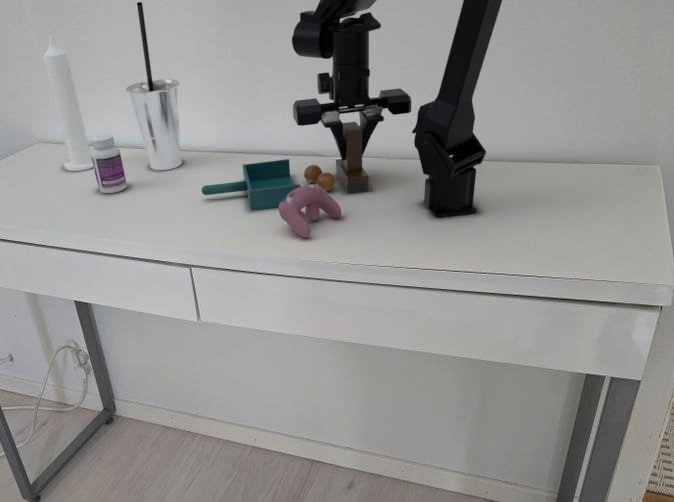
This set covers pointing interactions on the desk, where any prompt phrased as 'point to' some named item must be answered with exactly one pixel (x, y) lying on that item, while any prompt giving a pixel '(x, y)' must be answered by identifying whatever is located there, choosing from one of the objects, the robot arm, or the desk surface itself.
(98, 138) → the pill bottle
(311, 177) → the ball far
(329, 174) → the ball near
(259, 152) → the desk surface
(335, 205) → the video game controller
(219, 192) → the dustpan
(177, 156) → the tumbler with straw
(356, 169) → the brown thick angular block
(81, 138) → the candle
